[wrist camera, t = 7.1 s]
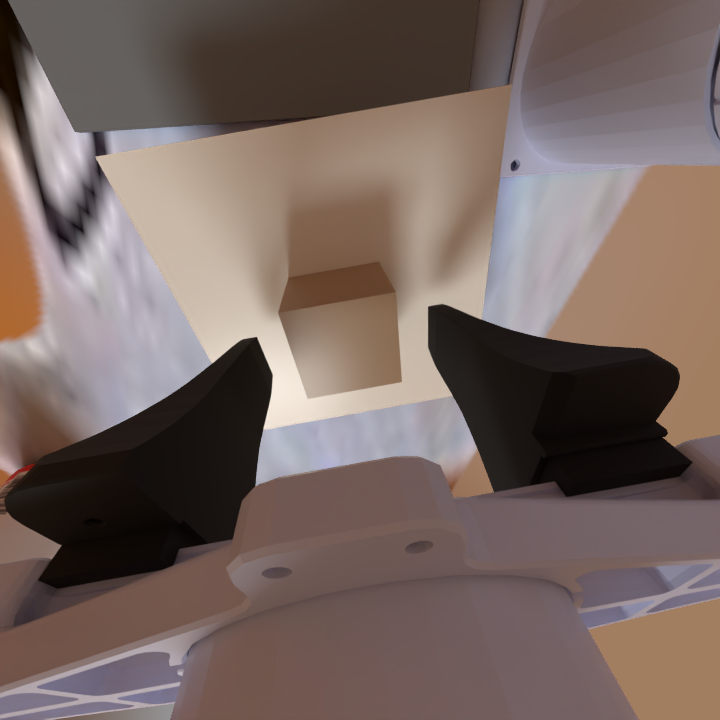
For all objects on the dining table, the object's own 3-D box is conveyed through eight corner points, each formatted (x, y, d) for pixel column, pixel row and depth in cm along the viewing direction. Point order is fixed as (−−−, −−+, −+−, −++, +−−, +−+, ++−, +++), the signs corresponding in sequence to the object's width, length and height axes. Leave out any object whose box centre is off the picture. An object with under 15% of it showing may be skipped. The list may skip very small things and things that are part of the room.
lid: (496, 90, 10) (594, 50, 6) (465, 382, 18) (501, 437, 15) (113, 157, 10) (-6, 154, 6) (254, 420, 18) (237, 484, 15)
